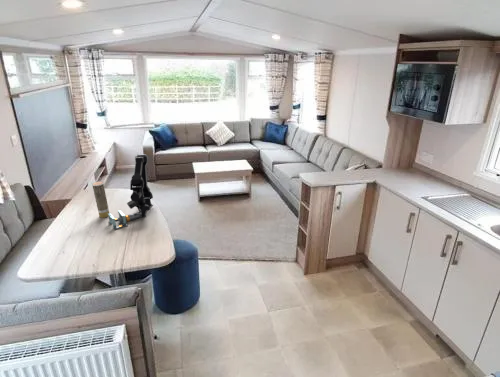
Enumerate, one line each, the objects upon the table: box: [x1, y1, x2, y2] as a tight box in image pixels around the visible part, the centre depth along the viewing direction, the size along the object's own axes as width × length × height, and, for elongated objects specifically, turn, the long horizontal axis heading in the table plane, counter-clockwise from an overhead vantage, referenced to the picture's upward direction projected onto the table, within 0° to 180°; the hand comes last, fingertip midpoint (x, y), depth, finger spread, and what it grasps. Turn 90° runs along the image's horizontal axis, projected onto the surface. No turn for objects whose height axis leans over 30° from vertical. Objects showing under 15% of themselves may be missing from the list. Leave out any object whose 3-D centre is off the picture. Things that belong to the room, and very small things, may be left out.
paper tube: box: [92, 181, 110, 219], centre depth 215 cm, size 7×7×25 cm
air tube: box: [117, 211, 147, 224], centre depth 214 cm, size 18×4×4 cm, turn 128°
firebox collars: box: [108, 209, 128, 231], centre depth 207 cm, size 14×8×7 cm, turn 38°
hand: (142, 215), depth 218 cm, fingers closed on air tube, 4 cm apart
